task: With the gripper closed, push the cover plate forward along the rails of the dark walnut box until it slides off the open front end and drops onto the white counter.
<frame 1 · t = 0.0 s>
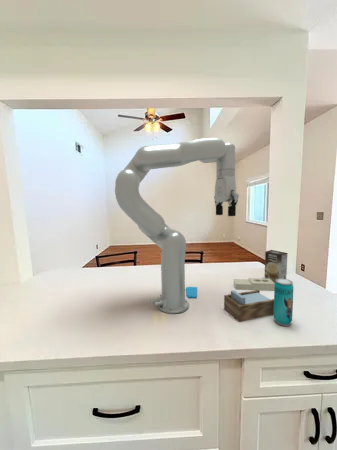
hand: (225, 215, 92), 37 cm above the countertop, tool pointing down, fingers open, 9 cm apart
coffee box: (275, 281, 114), on the countertop
electrical outlet: (253, 288, 107), on the countertop
walnut box: (249, 311, 83), on the countertop
sponge: (190, 294, 101), on the countertop
beverage can: (282, 323, 75), on the countertop
cover plate: (250, 301, 83), point 4 cm above the countertop, touching walnut box
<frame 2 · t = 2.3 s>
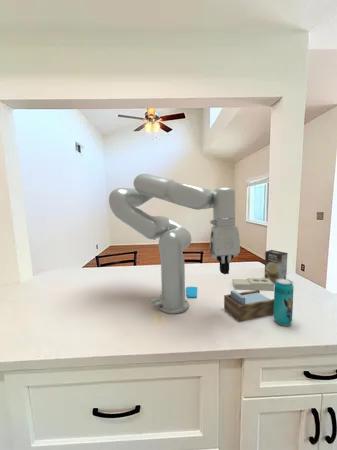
hand: (224, 273, 78), 17 cm above the countertop, tool pointing down, fingers closed
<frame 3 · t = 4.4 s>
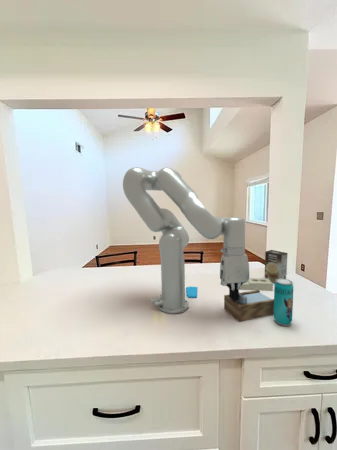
hand: (233, 298, 80), 6 cm above the countertop, tool pointing down, fingers closed
cover plate: (252, 301, 83), point 4 cm above the countertop, touching gripper, walnut box
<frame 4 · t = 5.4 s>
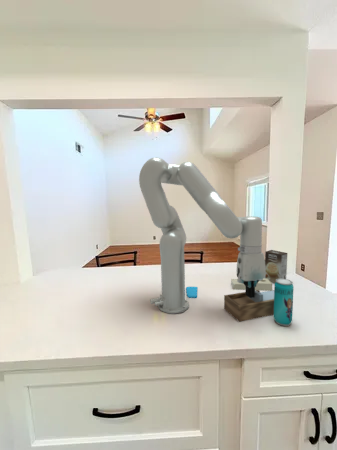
hand: (250, 296, 82), 6 cm above the countertop, tool pointing down, fingers closed
cover plate: (267, 298, 85), point 4 cm above the countertop, touching gripper, walnut box
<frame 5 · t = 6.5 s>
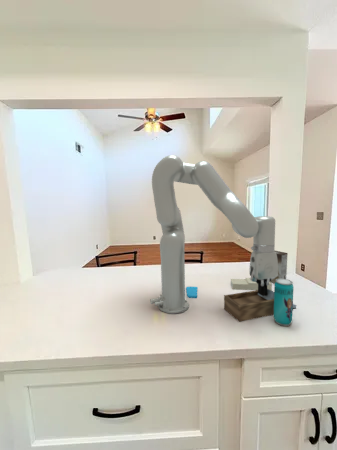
hand: (262, 294, 84), 6 cm above the countertop, tool pointing down, fingers closed
cover plate: (276, 301, 87), point 2 cm above the countertop, tilted 20°, touching gripper
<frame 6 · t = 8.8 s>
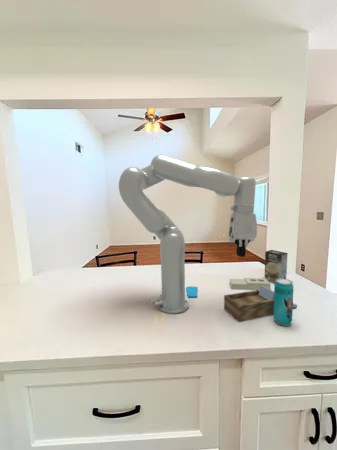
hand: (240, 256, 85), 21 cm above the countertop, tool pointing down, fingers closed
cover plate: (277, 301, 87), point 2 cm above the countertop, tilted 19°, touching walnut box
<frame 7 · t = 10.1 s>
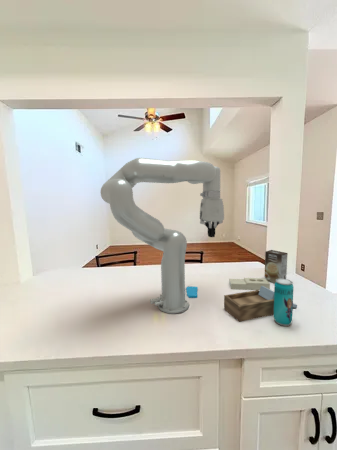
hand: (211, 236, 96), 27 cm above the countertop, tool pointing down, fingers closed
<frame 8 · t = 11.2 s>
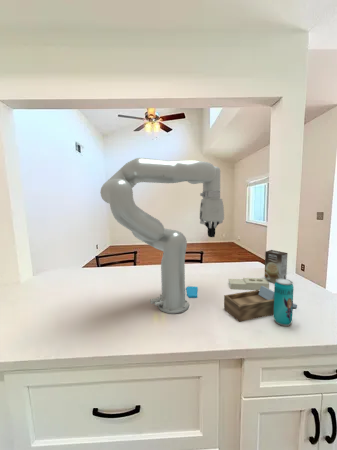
hand: (211, 236, 96), 27 cm above the countertop, tool pointing down, fingers closed
at the end: cover plate inside the target area (4.8 cm from its centre), point 2.2 cm above the countertop; cover plate moved 12.9 cm from its start; the gripper is holding nothing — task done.
